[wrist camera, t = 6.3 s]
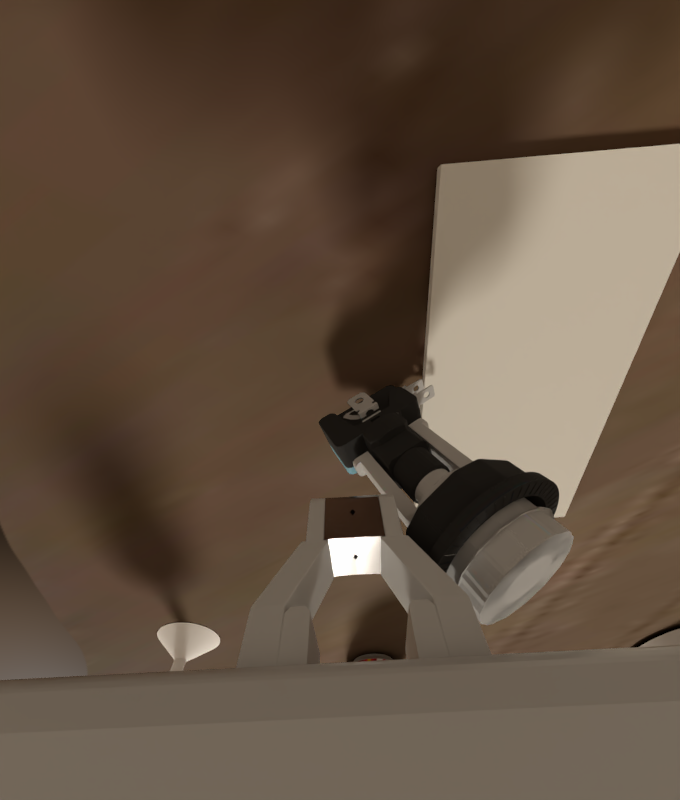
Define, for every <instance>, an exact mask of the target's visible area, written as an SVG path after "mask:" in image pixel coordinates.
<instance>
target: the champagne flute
mask: <svg viewBox="0 0 680 800" xmlns="http://www.w3.org/2000/svg"><path fill="white" fill-rule="evenodd" d="M157 636H158V639H159V640H160V641H161V643H162V644H163V645H164V647H165V648H166V649H167V651H168V652H169V653H170V655H171V656H172V657H173V659H174V662H173V665H172V667H171V670H170V671H183V669H184V666H185V663H186V662H187V661H189V660H191V659H194V658H196V657H198V656H200V655H202V654H204V653H206V652H208V651H211V650H213V649H215V648H216V647H217V646H218V645H219V644H220V638H219V636H218V635H217V634H216V633H215V632H214V631H213V630H211V629H209V628H207V627H204V626H202V625H198V624H193V623H183V622H181V623H171V624H167V625H165V626H163V627H161V628H160V629H159V630H158V632H157Z"/></svg>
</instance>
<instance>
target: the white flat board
mask: <svg viewBox="0 0 680 800" xmlns="http://www.w3.org/2000/svg"><path fill="white" fill-rule="evenodd" d="M679 252H680V144H671V145H659V146H648V147H636V148H625V149H613V150H602V151H590V152H579V153H567V154H556V155H544V156H533V157H521V158H510V159H498V160H487V161H475V162H464V163H452V164H441V165H440V166H439V167H438V168H437V181H436V195H435V209H434V223H433V237H432V251H431V265H430V279H429V293H428V307H427V321H426V335H425V349H424V363H423V377H422V380H423V385H424V389H425V388H427V387H428V386H430V385H433V387H434V393H435V395H434V397H432V398H431V399H429V400H428V401H426V402H424V403H423V404H421V405H420V414H421V418H422V419H424V420H425V421H427V423H428V426H429V429H430V430H432V431H433V432H435V433H436V434H437V435H439V436H440V437H441V438H443V439H444V440H445V441H447V442H448V443H449V444H451V445H452V446H453V447H455V448H456V449H457V450H459V451H460V452H461V453H463V454H464V455H465V456H467V457H468V458H469V459H471V460H472V461H475V460H477V459H492V460H507V461H509V462H511V463H512V464H514V465H515V466H517V467H518V468H520V469H521V470H523V471H524V472H537V473H540V474H542V475H543V476H545V477H546V478H548V479H550V480H551V481H553V482H554V483H555V484H556V485H557V487H558V489H559V502H558V506H557V509H556V512H555V514H554V517H565V515H566V512H567V510H568V508H569V505H570V503H571V501H572V499H573V496H574V494H575V492H576V489H577V487H578V485H579V482H580V480H581V478H582V476H583V473H584V471H585V469H586V466H587V464H588V462H589V459H590V457H591V455H592V453H593V450H594V448H595V446H596V443H597V441H598V439H599V436H600V434H601V432H602V429H603V427H604V425H605V423H606V420H607V418H608V416H609V413H610V411H611V409H612V406H613V404H614V402H615V400H616V397H617V395H618V393H619V390H620V388H621V386H622V383H623V381H624V379H625V377H626V374H627V372H628V370H629V367H630V365H631V363H632V360H633V358H634V356H635V353H636V351H637V349H638V347H639V344H640V342H641V340H642V337H643V335H644V333H645V330H646V328H647V326H648V324H649V321H650V319H651V317H652V314H653V312H654V310H655V307H656V305H657V303H658V301H659V298H660V296H661V294H662V291H663V289H664V287H665V284H666V282H667V280H668V278H669V275H670V273H671V271H672V268H673V266H674V264H675V261H676V259H677V257H678V254H679ZM428 395H429V392H428V391H427V392H425V394H424V398H426V397H427V396H428ZM414 505H415V507H416V508H417V506H418V504H417V503H415V502H414Z"/></svg>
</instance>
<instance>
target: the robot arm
mask: <svg viewBox="0 0 680 800" xmlns="http://www.w3.org/2000/svg"><path fill="white" fill-rule="evenodd" d="M355 574H381V576H382V577H383V579H384V580H385V581H386V583H387V584H388V586H389V587H390V589H391V590H392V592H393V593H394V594H395V596H396V597H397V599H398V600H399V602H400V603H401V605H402V606H403V607H404V609H405V610H406V612H407V613H408V621H407V633H406V645H405V651H406V657H407V659H399V660H379V661H360V662H341V663H321V664H320V652H319V648H318V644H317V639H316V635H315V630H314V626H313V622H312V619H313V617H314V616H315V614H316V612H317V610H318V608H319V606H320V604H321V602H322V600H323V598H324V596H325V594H326V592H327V590H328V588H329V586H330V585H331V583H332V581H333V579H334V577H333V576H344V575H355ZM0 800H680V629H677V630H674V631H671V632H668V633H666V634H663V635H661V636H658V637H656V638H654V639H652V640H650V641H648V642H646V643H644V644H643V645H641V646H640V647H631V648H612V649H593V650H573V651H554V652H535V653H515V654H496V655H491V652H490V650H489V647H488V644H487V642H486V639H485V637H484V634H483V632H482V629H481V626H480V624H479V621H478V619H477V616H476V613H475V611H474V608H473V606H472V603H471V601H470V598H469V596H468V595H467V594H466V593H465V592H464V591H463V590H462V589H461V588H460V587H459V586H458V585H457V584H456V583H455V582H454V581H453V580H452V579H451V578H450V577H449V576H448V575H447V574H446V573H445V572H444V571H443V570H442V569H441V568H440V567H439V566H438V565H437V564H436V563H435V562H434V561H433V560H432V559H431V558H430V557H429V556H428V555H427V554H426V553H425V552H424V551H423V550H422V549H421V548H420V547H419V546H418V545H417V544H416V543H415V542H414V541H413V540H412V539H411V538H410V537H409V536H408V535H403V532H402V528H401V524H400V519H399V515H398V511H397V507H396V503H395V499H394V496H393V494H382V495H367V496H354V497H339V498H319V499H311V501H310V507H309V516H308V526H307V536H306V541H305V542H301V543H300V544H299V546H298V547H297V548H296V550H295V551H294V552H293V553H292V555H291V556H290V557H289V559H288V560H287V561H286V563H285V564H284V565H283V566H282V568H281V569H280V570H279V572H278V573H277V574H276V575H275V577H274V578H273V579H272V581H271V582H270V583H269V585H268V586H267V587H266V588H265V590H264V591H263V592H262V594H261V595H260V596H259V597H258V599H257V600H256V601H255V603H254V604H253V605H252V606H251V609H250V613H249V617H248V621H247V625H246V630H245V634H244V638H243V642H242V646H241V650H240V654H239V659H238V663H237V667H236V668H225V669H206V670H187V671H168V672H148V673H129V674H110V675H91V676H73V677H54V678H33V679H15V680H0Z"/></svg>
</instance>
